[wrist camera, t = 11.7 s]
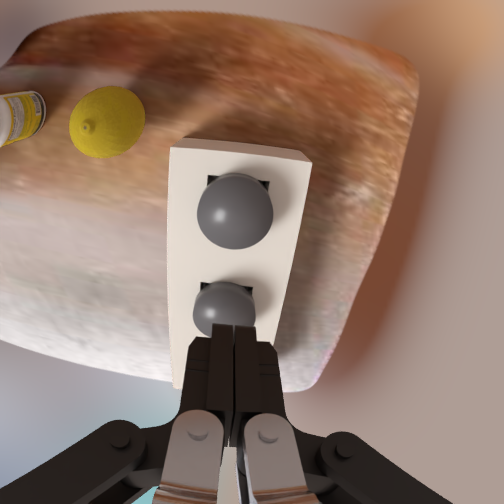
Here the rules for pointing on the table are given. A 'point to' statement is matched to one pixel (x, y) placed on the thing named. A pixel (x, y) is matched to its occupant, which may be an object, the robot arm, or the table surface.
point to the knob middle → (223, 306)
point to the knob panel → (221, 259)
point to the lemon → (107, 122)
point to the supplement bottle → (20, 116)
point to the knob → (235, 211)
